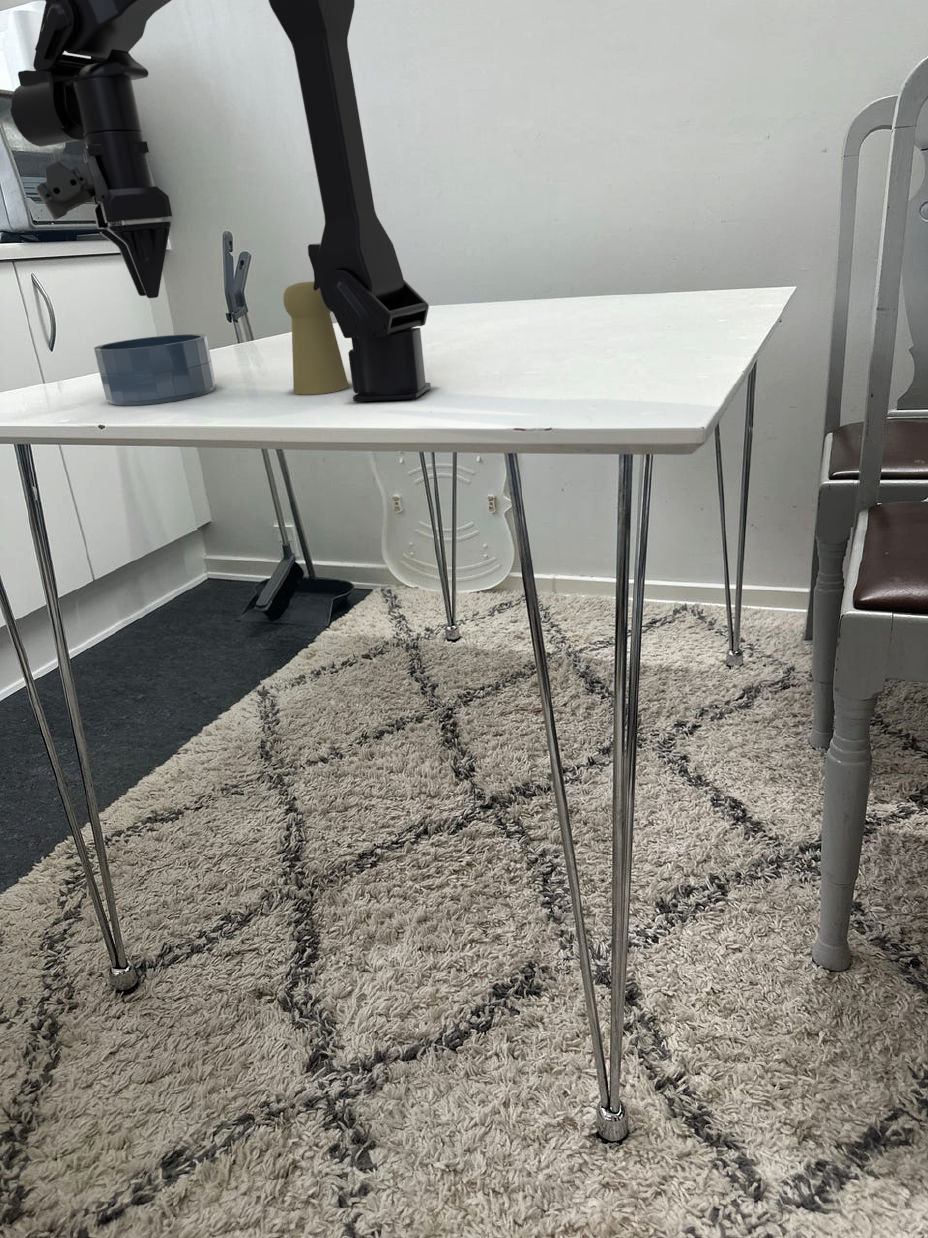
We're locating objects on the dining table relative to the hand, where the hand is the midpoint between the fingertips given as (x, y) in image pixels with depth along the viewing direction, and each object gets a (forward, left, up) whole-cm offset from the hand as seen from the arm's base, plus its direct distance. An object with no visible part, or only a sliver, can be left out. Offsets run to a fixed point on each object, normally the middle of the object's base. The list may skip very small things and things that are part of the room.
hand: (148, 296), depth 97 cm
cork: (-18, 0, -11) cm, 21 cm away
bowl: (+2, -1, -11) cm, 11 cm away
